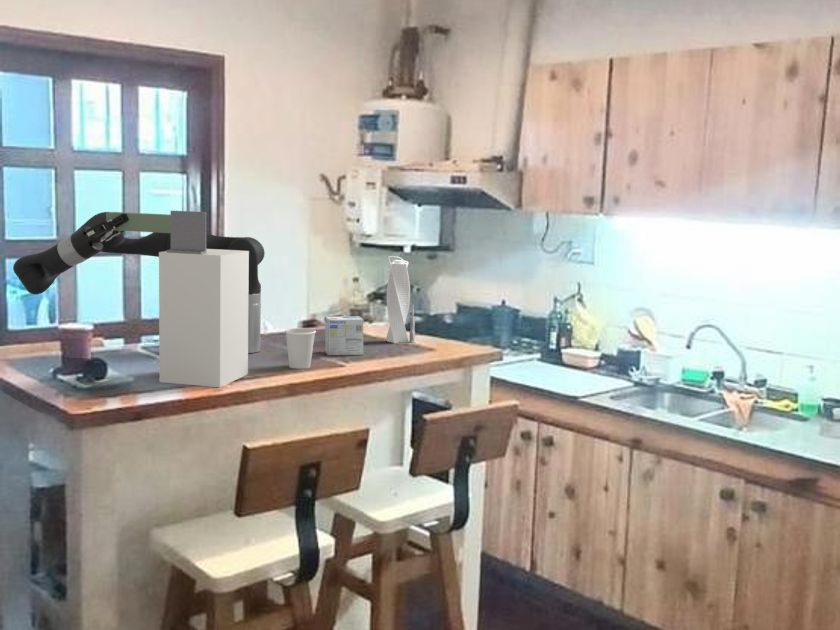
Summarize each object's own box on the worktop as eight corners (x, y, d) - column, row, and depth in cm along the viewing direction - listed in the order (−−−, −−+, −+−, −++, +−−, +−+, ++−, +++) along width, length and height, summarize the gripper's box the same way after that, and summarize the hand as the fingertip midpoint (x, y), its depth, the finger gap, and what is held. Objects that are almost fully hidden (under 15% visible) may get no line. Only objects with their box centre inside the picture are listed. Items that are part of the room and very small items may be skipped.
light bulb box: (359, 351, 285) (360, 315, 283) (363, 355, 278) (364, 318, 277) (323, 351, 282) (324, 315, 281) (327, 355, 276) (328, 319, 274)
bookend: (172, 251, 231) (172, 210, 230) (206, 253, 229) (206, 212, 228) (166, 252, 228) (166, 210, 227) (201, 254, 226) (201, 212, 225)
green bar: (114, 229, 248) (114, 211, 247) (199, 233, 243) (199, 215, 242) (106, 229, 244) (105, 212, 243) (192, 234, 239) (192, 216, 238)
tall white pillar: (190, 369, 249) (190, 248, 245) (247, 374, 246) (248, 250, 242) (159, 382, 233) (158, 252, 229) (220, 387, 230) (220, 255, 225)
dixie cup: (285, 369, 253) (285, 332, 252) (283, 363, 261) (284, 327, 260) (316, 369, 255) (317, 332, 254) (313, 363, 263) (314, 328, 262)
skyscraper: (394, 345, 298) (396, 256, 294) (379, 341, 304) (382, 254, 300) (415, 343, 303) (418, 256, 299) (401, 340, 309) (403, 254, 305)
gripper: (57, 235, 242) (110, 203, 237) (88, 232, 255) (138, 202, 251) (71, 261, 242) (123, 230, 237) (101, 257, 256) (151, 227, 251)
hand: (131, 216), depth 244 cm, fingers closed on green bar, 4 cm apart
